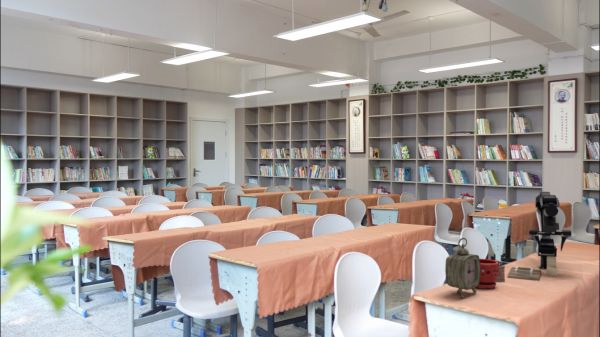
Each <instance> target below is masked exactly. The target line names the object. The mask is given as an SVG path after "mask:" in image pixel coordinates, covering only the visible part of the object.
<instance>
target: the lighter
mask: <svg viewBox="0 0 600 337" xmlns="http://www.w3.org/2000/svg"><path fill="white" fill-rule="evenodd" d="M494 261H497V262H498V263H499V267H498V275H497V278H496V280H495V282H496V283H502V282H503V283H504V282H506V279H505V276H506V275H505V274H506V272H505V268H506V266H505V265H503V261H502V260H498V259H496V260H494ZM488 271H489V270H488ZM493 272H494V271H493Z"/></svg>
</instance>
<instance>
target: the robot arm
mask: <svg viewBox="0 0 600 337" xmlns="http://www.w3.org/2000/svg"><path fill="white" fill-rule="evenodd" d="M534 207H535V208H536V212H537V213H538V214H539V216H540V217H539V218H540V230H541V231H540V230H538V229H529V231H528V234H529V235H528V236H529V237H532V238H533V239H535V241H536V243H537V249H536V250H537V253H536V255H537V257H540V264H539V269H546V270H547V256H549V257H556V258H557V257H558V256H557V252H558V248H557V245H555V240H554V238H552V236H561V241H560V252H563V248H564V245H565V242H566V241H567V240H568V239H569V238H573V237H572V231H571V230H570V229H562V230H561V231H559V230H560V222H557V215H559V214H558V213H559V209H558V208H559V207H560V201H559V199H558V197H557V196H556V195H555V194H551V192H550V191H539V194H538V195H537V196H536V197H535V201H534ZM540 236H541V238H540Z"/></svg>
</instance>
